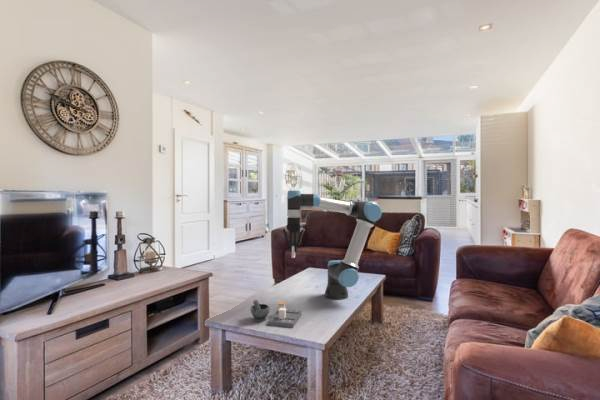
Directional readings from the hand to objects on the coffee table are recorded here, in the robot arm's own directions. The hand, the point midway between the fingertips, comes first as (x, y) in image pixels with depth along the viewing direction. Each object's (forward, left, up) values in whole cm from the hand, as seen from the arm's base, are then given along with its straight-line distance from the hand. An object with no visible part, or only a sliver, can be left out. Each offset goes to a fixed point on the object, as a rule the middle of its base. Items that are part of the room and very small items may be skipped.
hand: (293, 257), depth 185 cm
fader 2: (0, +22, -27) cm, 35 cm away
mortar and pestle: (+12, +23, -30) cm, 39 cm away
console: (-1, +18, -29) cm, 34 cm away
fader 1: (+3, +13, -27) cm, 30 cm away
